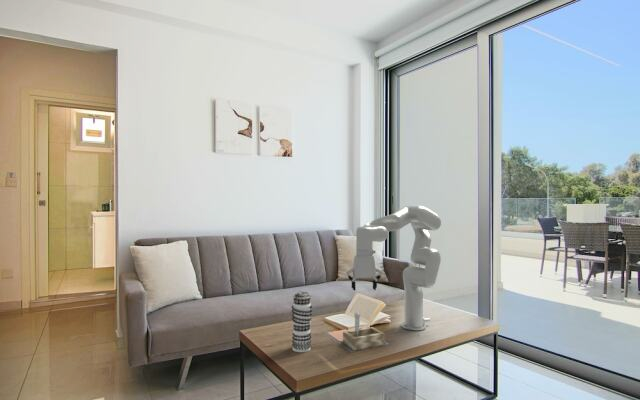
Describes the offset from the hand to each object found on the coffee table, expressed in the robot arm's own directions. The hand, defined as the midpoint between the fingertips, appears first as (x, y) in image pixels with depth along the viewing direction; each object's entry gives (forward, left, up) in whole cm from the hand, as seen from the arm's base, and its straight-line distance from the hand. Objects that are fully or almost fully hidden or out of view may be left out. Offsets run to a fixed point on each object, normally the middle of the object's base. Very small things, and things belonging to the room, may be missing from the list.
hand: (364, 289), depth 183 cm
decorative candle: (+29, -5, -25) cm, 39 cm away
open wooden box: (+2, +4, -24) cm, 24 cm away
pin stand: (+2, -3, -25) cm, 25 cm away
